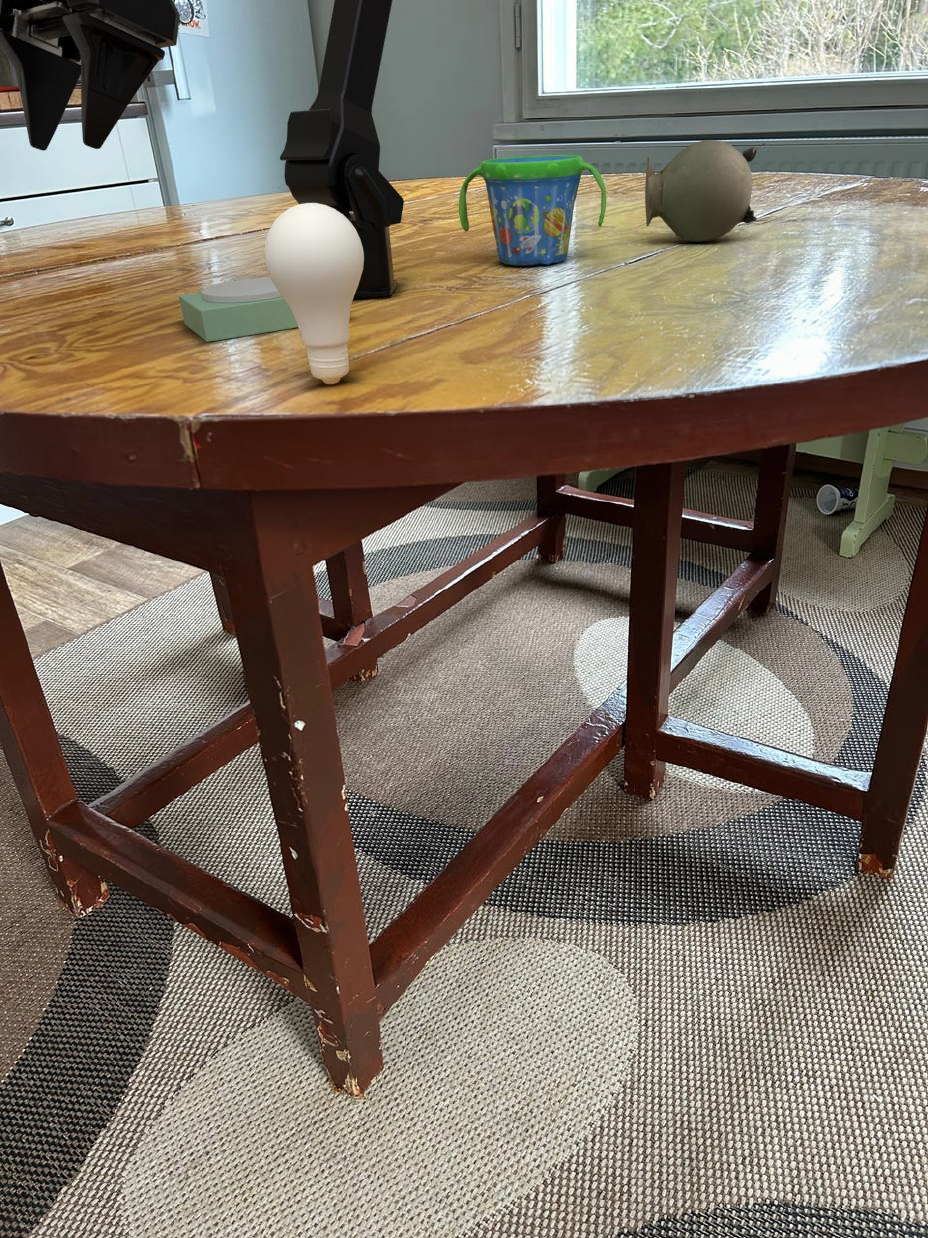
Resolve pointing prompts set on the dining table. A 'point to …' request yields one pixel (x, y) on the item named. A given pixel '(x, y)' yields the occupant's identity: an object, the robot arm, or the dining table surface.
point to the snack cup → (531, 205)
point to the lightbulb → (317, 280)
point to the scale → (236, 309)
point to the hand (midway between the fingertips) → (63, 147)
